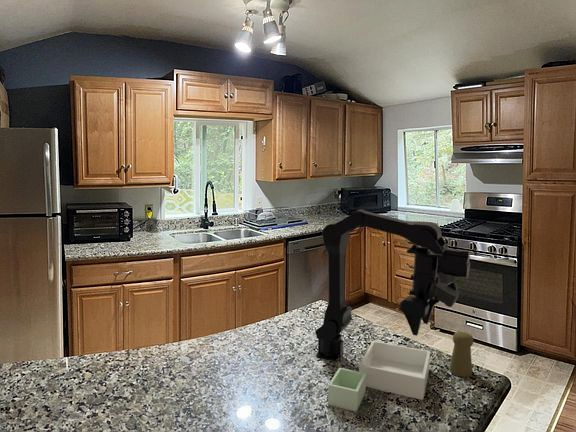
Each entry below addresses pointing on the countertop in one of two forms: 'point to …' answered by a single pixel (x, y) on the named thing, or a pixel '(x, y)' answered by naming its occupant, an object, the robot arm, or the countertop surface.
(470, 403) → the countertop surface
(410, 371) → the white open box
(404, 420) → the countertop surface
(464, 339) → the olive pepper shaker
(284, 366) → the countertop surface
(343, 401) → the sage crate
